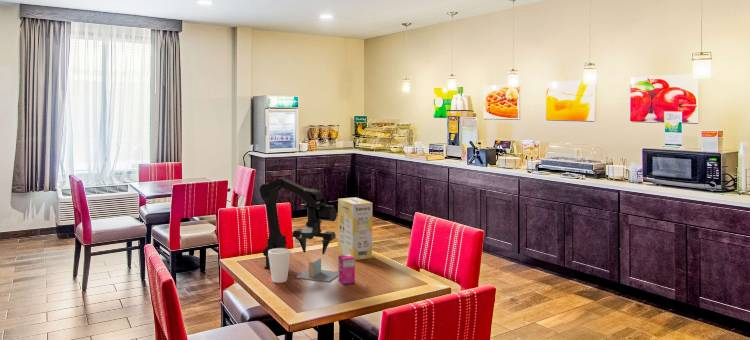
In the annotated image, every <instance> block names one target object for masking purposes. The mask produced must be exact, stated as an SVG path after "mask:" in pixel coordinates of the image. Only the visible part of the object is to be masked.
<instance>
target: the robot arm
mask: <svg viewBox="0 0 750 340" xmlns="http://www.w3.org/2000/svg"><path fill="white" fill-rule="evenodd" d="M282 189H283V190H286V191H288V192H290V193H293V194H294V195H296V196H299V197H300V198H301V200H303V201H304V202H305V205H304V206H303V207H302V208H303V209H306V210H307V221H306V223H305V226H304V227H303V228H296V229H295V230H293V231H292V235H291V237H293V238H295V240H297V241H298V242H299V244H300V247H301V249H302V251H303V253H306V250H307V239H308V240H312V239H314V237H316V238H322V240H321V242H322V256H323V255H325V254H326V251H327V248H328V246H329V244H330V242H331V241H333V240H334V239H336V237H337V236H336V232H335V231H329V230H327V231H325V232H322V228H321V225H322V222H323V221H325V222H326V221H327V222H335V221H336V220H337V218H338V211H337V209H336V208H335V205H328V203H327V201H326V199H325V197H324V196H323V192H322V191H321V190H318V189H315V188H308V187H305V186H303V185H300V184H299V183H297V182H294V181H292V180H290V179H288V177H287V178H286V177H279V178H276V179H274V180H272V181H270V182H268V183H263V184H261V185H260V187H259V195H260V198H261V199H262V200H263V202H264V204H265V209H266V217H267V219H266V220H267V224H268V232H269V234H268V237H267V240H266V241H267V242H266V243H267V244H266V245H267V246H266V247H265V248H264V249H263V250H262V254H263V256H264V257H265V266H264V267H263V268H264V269H266V270H267V269H269V270H270V263H269V257H268V251H269V250H271V249H276V248H285V249H287V248H286V247H287V244H288V242H287V239H286V237H287V235H285V234H284V235H283V234H282V233H281V227H280V219H279V214H278V206H277V201H278V197H279V191H280V190H282Z"/></svg>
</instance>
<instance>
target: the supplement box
mask: <svg viewBox="0 0 750 340" xmlns="http://www.w3.org/2000/svg"><path fill="white" fill-rule="evenodd" d="M337 259H338V260H337V261H338V262H337V265H338V267H337V269H338V271H337V272H338V276H337V278H338V279H337V280H338V282H339V283H340V284H341V285H342V286H347V285H354V284H356V279H355V278H356V271H355V270H356V265H355V264H356V260H355V258H354V257H353V256H352V255H350V254H349V255H343V254H342V255H341V254H340V255H338V256H337Z"/></svg>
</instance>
